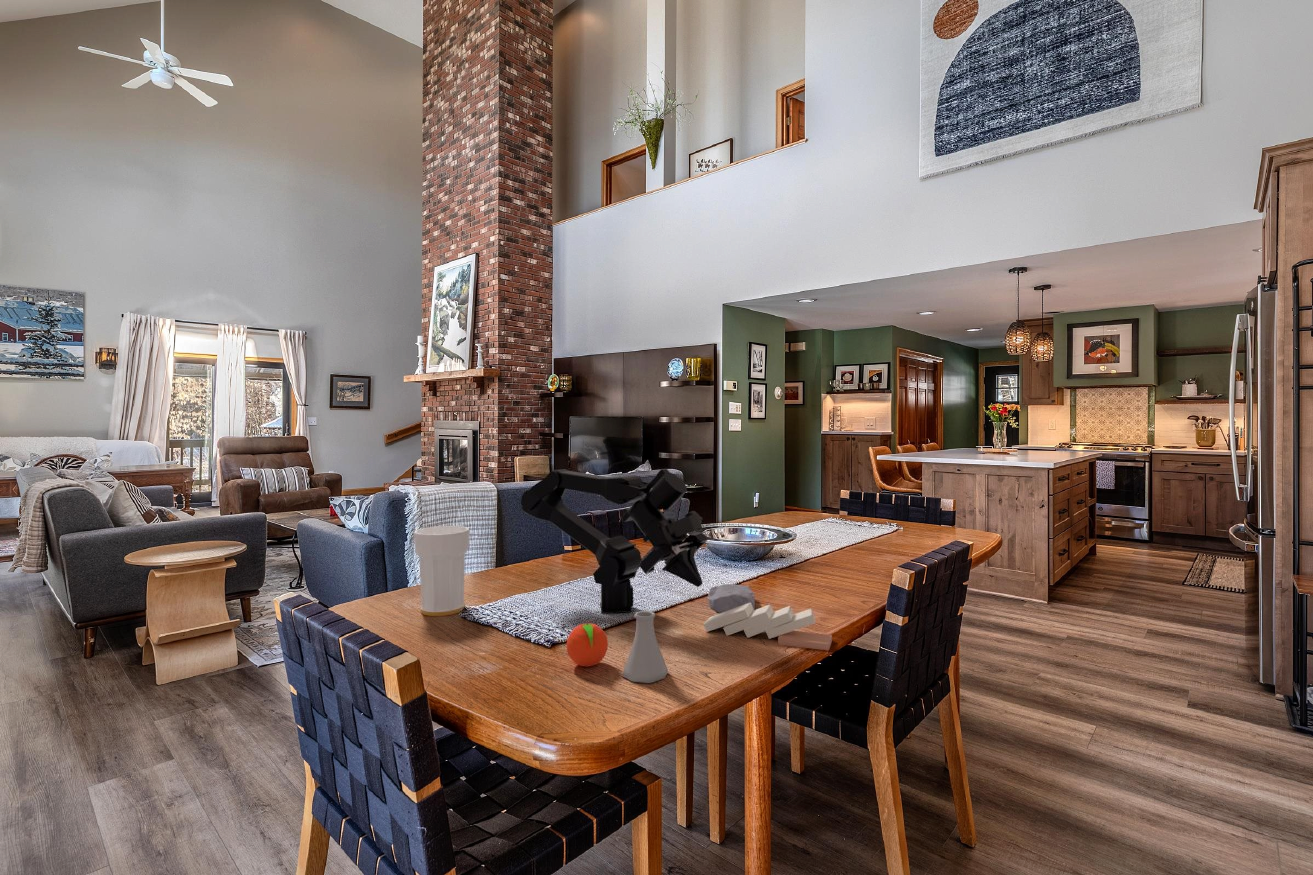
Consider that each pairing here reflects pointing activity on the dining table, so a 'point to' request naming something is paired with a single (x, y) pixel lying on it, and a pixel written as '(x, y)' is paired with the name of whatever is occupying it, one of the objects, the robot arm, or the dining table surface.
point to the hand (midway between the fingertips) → (700, 585)
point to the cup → (442, 568)
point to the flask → (645, 652)
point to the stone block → (730, 597)
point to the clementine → (587, 644)
